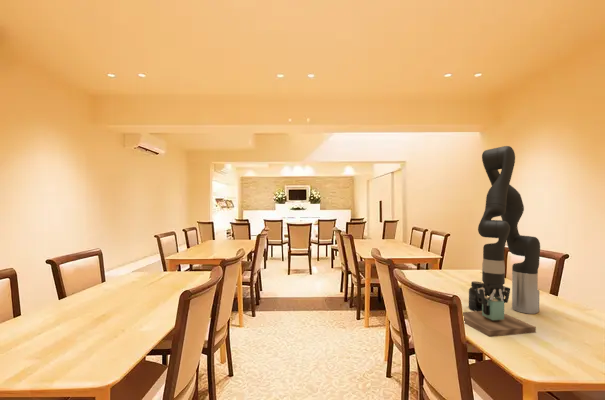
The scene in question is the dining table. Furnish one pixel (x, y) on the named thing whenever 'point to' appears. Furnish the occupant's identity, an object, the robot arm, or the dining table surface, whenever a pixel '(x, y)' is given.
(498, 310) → the green cube with circle
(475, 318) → the brown wooden board
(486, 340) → the dining table surface
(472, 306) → the supplement bottle
